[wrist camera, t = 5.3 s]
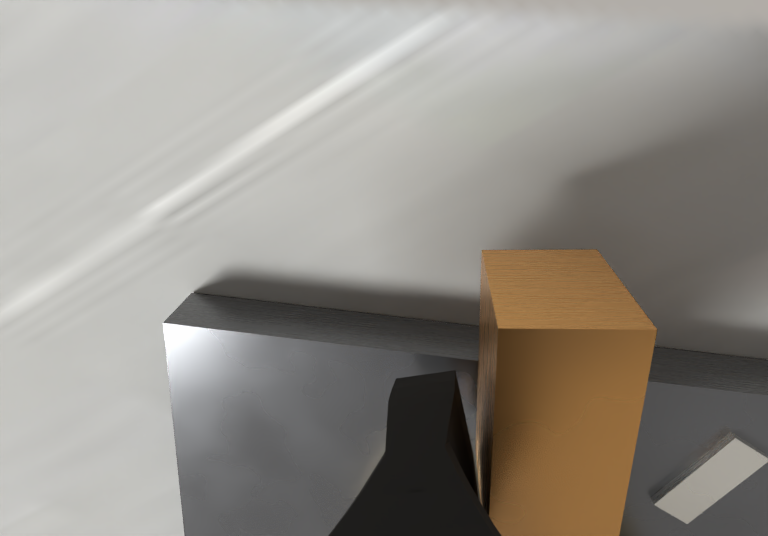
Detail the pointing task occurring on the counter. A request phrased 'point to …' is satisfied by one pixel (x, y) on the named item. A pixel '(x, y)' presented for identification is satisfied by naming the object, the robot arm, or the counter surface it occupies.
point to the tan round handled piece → (558, 391)
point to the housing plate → (370, 407)
